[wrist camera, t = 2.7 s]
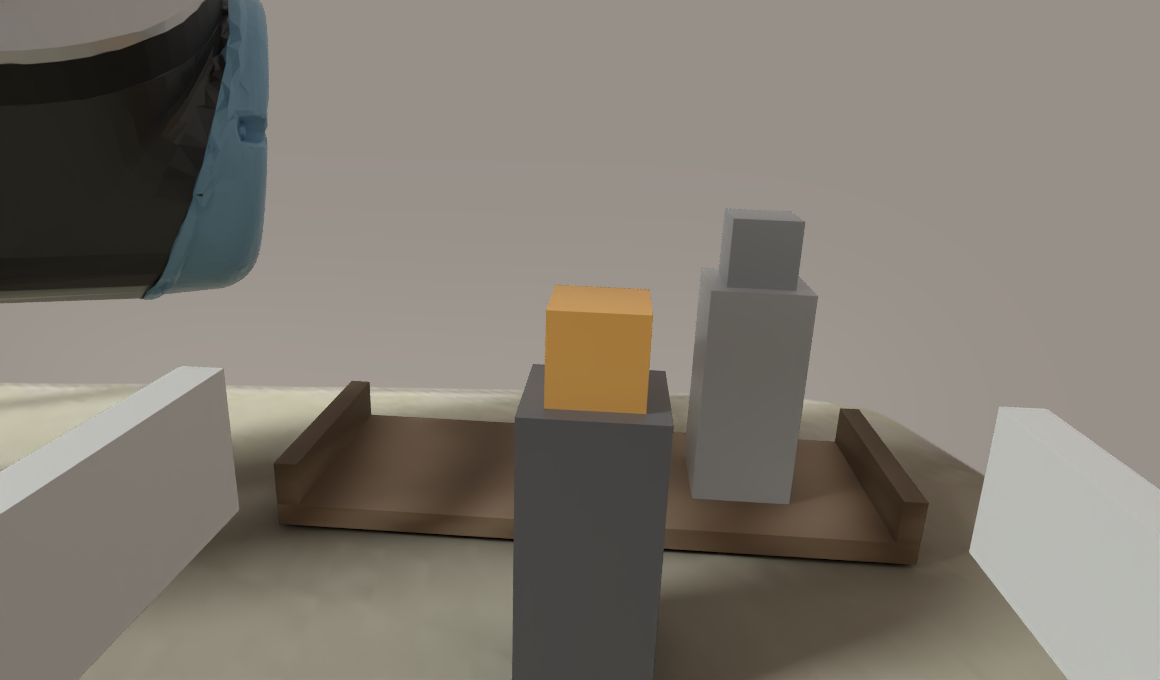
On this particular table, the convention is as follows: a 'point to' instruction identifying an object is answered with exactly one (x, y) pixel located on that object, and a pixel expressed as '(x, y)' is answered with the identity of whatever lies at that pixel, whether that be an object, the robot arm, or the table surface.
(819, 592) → the table surface
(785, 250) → the grey plug
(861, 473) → the brown wooden tray
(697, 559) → the table surface
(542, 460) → the charcoal plug
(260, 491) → the table surface
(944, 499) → the table surface
